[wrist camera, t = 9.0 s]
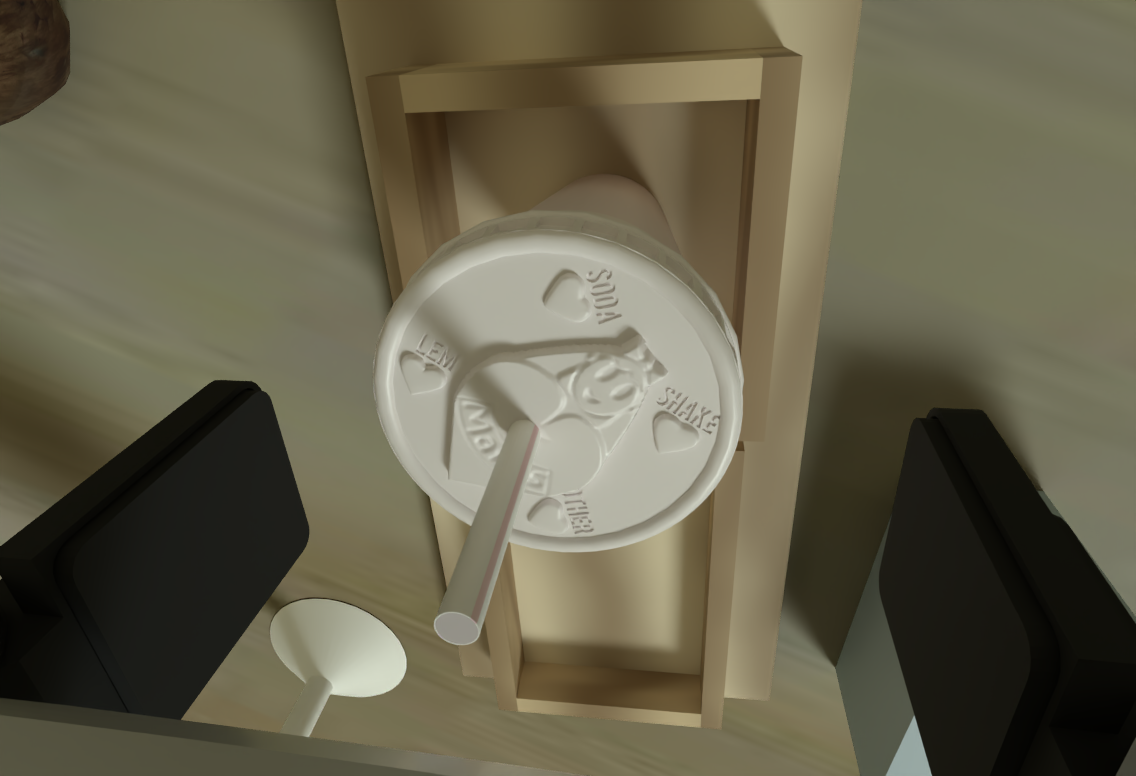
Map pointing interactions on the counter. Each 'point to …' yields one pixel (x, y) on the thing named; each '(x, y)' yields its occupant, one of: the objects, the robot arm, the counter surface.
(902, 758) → the pale grey block
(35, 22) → the mushroom
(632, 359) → the smoothie
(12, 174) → the counter surface
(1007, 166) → the counter surface
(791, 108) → the tray
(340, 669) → the champagne flute
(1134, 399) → the counter surface
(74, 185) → the counter surface
